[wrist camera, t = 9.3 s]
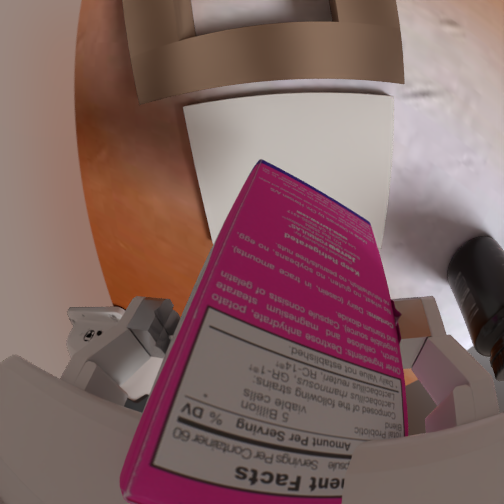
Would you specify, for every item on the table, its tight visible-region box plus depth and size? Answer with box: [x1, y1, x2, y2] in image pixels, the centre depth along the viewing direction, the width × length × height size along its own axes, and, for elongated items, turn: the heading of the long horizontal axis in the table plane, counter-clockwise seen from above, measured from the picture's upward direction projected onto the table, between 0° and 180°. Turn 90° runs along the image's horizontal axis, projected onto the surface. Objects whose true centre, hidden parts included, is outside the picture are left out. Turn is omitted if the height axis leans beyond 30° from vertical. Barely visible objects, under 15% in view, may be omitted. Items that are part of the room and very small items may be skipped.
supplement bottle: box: [448, 236, 504, 381], centre depth 15 cm, size 7×7×12 cm
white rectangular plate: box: [183, 92, 394, 249], centre depth 19 cm, size 14×12×1 cm
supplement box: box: [119, 159, 408, 504], centre depth 8 cm, size 6×6×12 cm
